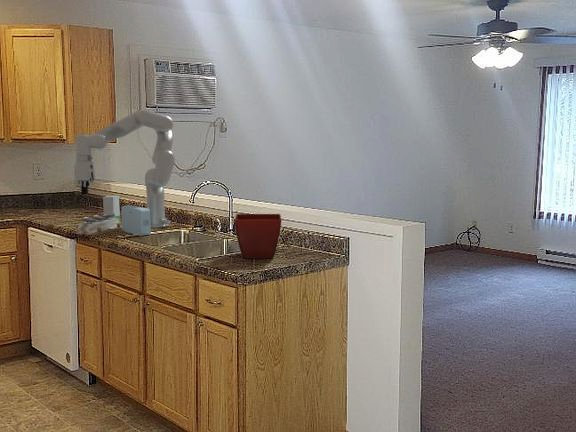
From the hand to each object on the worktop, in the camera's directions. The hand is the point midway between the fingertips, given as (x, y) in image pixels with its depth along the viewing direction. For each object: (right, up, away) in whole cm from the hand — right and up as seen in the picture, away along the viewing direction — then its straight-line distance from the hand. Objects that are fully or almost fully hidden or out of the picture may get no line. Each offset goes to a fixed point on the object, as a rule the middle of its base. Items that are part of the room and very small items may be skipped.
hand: (84, 194), depth 357 cm
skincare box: (+6, -16, +34) cm, 38 cm away
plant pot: (+93, -28, -65) cm, 117 cm away
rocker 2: (+5, -14, +7) cm, 16 cm away
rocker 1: (+2, -15, 0) cm, 15 cm away
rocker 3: (+9, -13, +14) cm, 21 cm away
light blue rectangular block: (+27, -20, -1) cm, 34 cm away
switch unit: (+7, -19, +7) cm, 21 cm away
